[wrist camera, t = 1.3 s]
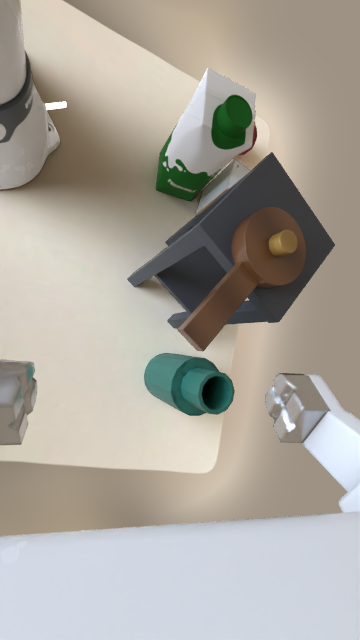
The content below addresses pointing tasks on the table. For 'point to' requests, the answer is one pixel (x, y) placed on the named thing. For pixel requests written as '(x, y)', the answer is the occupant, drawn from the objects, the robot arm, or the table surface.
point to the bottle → (189, 384)
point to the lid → (249, 271)
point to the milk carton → (206, 136)
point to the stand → (216, 254)
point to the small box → (222, 183)
